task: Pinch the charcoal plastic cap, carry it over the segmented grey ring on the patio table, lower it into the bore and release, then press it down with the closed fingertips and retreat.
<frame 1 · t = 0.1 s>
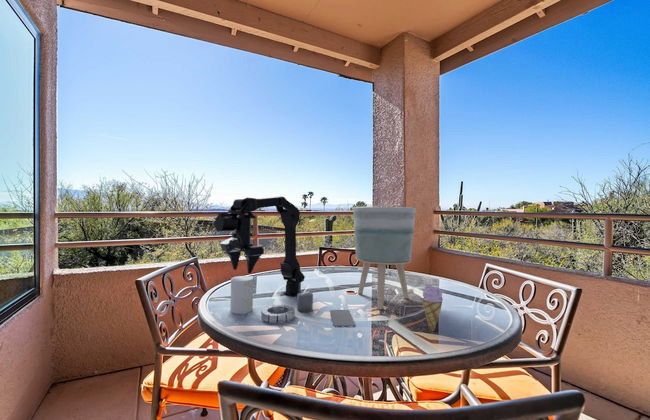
hand: (242, 271, 109), 15 cm above the table, fingers open, 9 cm apart
smartphone: (341, 320, 102), on the table
planter: (382, 300, 124), on the table
grey cylinder: (241, 310, 109), on the table
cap: (304, 309, 110), on the table
segmented grey ring: (278, 317, 102), on the table
ice cream cone: (431, 330, 93), on the table
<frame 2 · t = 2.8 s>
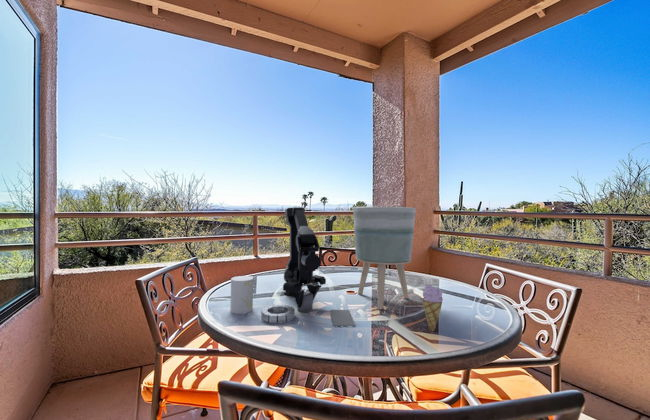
hand: (304, 305, 110), 2 cm above the table, fingers closed on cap, 6 cm apart
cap: (304, 309, 110), on the table, touching gripper
everything else where it was.
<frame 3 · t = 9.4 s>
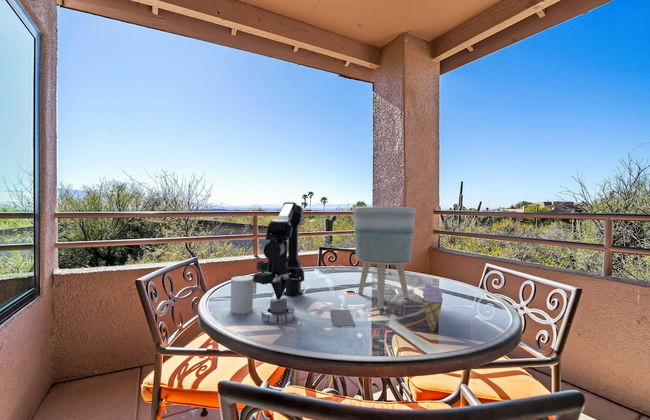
hand: (278, 298, 102), 7 cm above the table, fingers closed, pressing on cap
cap: (278, 317, 102), resting in segmented grey ring, touching gripper
everything else where it was.
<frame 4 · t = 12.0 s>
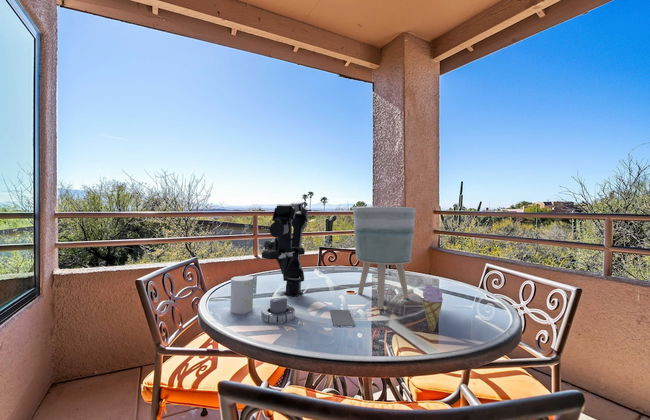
hand: (283, 274, 115), 13 cm above the table, fingers closed
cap: (278, 317, 102), resting in segmented grey ring
everything else where it was.
at the end: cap 0.1 cm off-centre on the segmented grey ring, point 0.0 cm above the segmented grey ring's base; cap tilted 0°; the gripper is holding nothing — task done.
